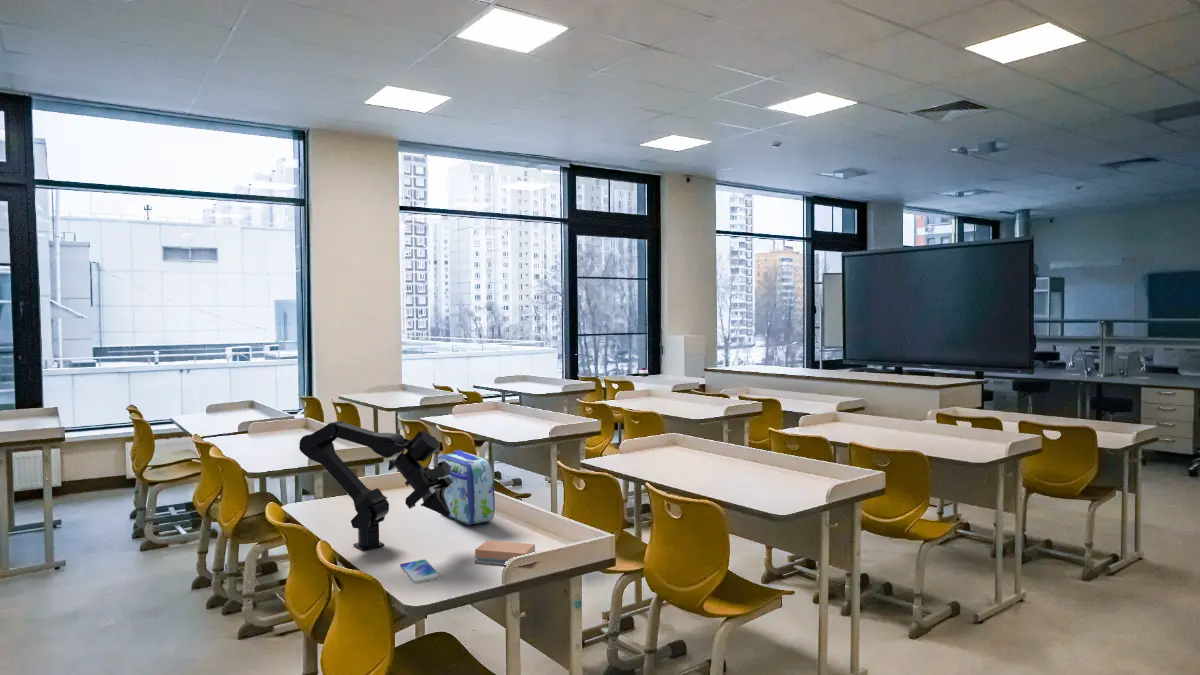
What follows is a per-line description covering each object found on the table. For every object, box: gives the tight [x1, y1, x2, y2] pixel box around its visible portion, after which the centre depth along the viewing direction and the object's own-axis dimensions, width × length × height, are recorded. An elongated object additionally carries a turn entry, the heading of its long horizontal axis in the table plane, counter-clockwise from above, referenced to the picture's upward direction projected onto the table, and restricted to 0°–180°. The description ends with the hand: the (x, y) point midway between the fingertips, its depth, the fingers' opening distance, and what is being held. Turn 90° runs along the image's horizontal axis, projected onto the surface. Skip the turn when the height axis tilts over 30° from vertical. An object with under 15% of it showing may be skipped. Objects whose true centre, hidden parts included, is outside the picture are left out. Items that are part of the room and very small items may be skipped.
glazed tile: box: [474, 540, 536, 561], centre depth 199 cm, size 2×8×14 cm
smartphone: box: [398, 559, 442, 584], centre depth 189 cm, size 7×1×15 cm
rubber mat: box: [474, 559, 506, 567], centre depth 199 cm, size 10×12×1 cm
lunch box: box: [436, 449, 496, 526], centre depth 237 cm, size 26×11×21 cm, turn 35°
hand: (448, 515), depth 202 cm, fingers closed
